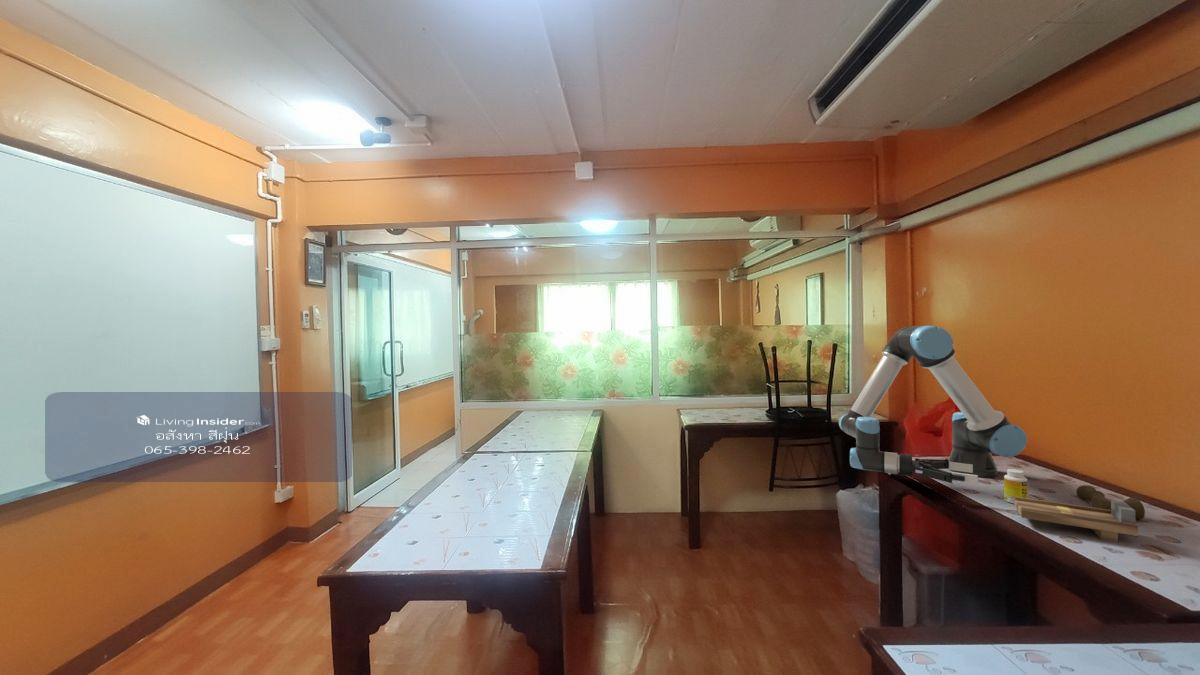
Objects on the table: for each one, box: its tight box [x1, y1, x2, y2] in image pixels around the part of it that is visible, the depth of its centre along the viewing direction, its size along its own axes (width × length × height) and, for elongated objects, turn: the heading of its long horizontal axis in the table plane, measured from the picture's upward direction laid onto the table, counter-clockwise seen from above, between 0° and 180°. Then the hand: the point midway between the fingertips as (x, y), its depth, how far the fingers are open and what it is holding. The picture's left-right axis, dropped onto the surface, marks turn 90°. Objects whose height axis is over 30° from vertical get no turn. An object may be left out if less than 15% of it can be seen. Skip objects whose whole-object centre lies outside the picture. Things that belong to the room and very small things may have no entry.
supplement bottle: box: [1003, 468, 1028, 505], centre depth 144 cm, size 6×6×10 cm
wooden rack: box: [1014, 497, 1139, 543], centre depth 125 cm, size 10×22×8 cm, turn 56°
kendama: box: [1075, 484, 1146, 520], centre depth 136 cm, size 6×10×20 cm
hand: (975, 474), depth 150 cm, fingers open, 13 cm apart
